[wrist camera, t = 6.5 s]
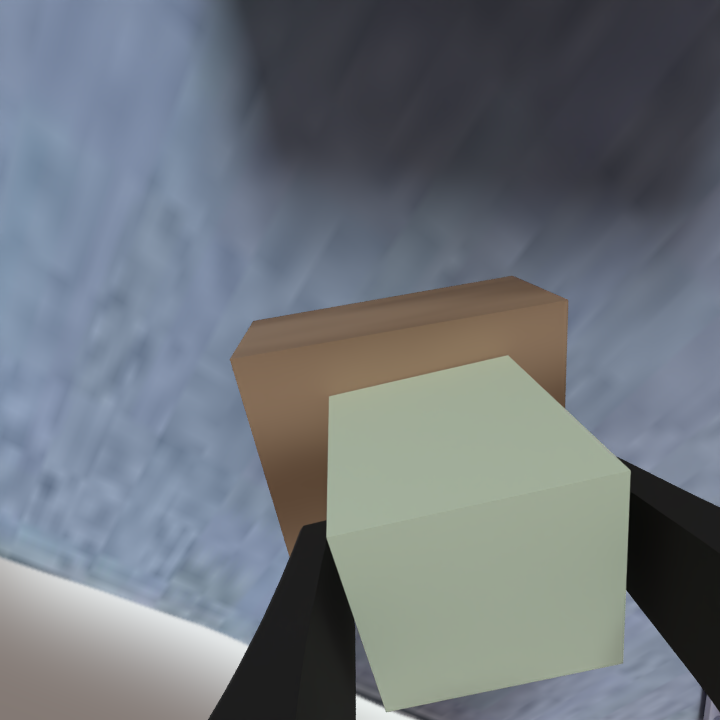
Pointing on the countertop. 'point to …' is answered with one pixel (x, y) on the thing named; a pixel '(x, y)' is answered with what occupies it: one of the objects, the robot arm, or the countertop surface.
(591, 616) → the sage cube
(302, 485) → the walnut block
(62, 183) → the countertop surface
